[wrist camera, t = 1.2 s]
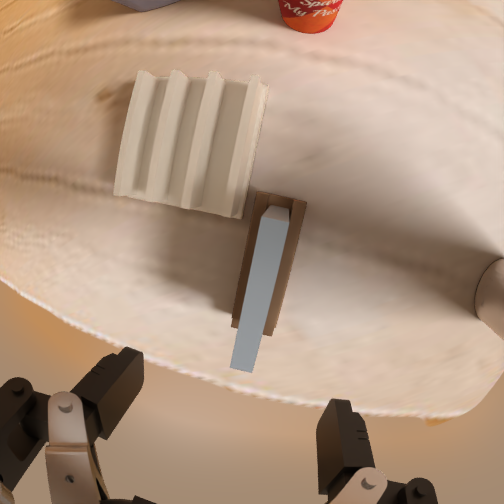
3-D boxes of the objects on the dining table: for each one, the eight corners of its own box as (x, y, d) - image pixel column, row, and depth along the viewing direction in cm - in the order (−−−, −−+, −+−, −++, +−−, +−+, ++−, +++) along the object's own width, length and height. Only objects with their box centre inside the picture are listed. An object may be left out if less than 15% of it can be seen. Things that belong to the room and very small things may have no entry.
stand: (306, 201, 28) (308, 203, 25) (275, 324, 31) (274, 337, 29) (257, 191, 28) (254, 191, 25) (233, 314, 32) (228, 326, 29)
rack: (269, 88, 25) (265, 71, 21) (242, 217, 29) (233, 224, 24) (156, 79, 26) (136, 66, 22) (132, 196, 30) (109, 199, 25)
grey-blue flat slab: (288, 208, 27) (289, 222, 18) (263, 317, 30) (252, 372, 21) (270, 204, 27) (261, 216, 18) (247, 313, 31) (229, 367, 21)
